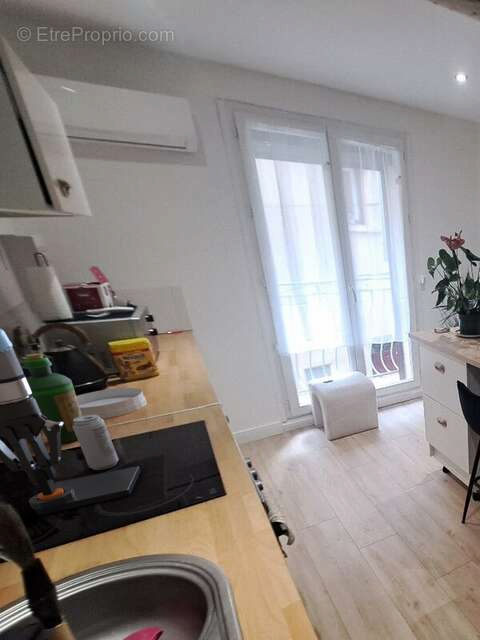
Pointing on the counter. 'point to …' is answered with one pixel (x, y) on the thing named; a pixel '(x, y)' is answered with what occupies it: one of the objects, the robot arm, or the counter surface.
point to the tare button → (57, 493)
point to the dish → (111, 402)
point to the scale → (88, 490)
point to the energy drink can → (95, 442)
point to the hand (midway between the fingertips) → (50, 491)
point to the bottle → (53, 395)
